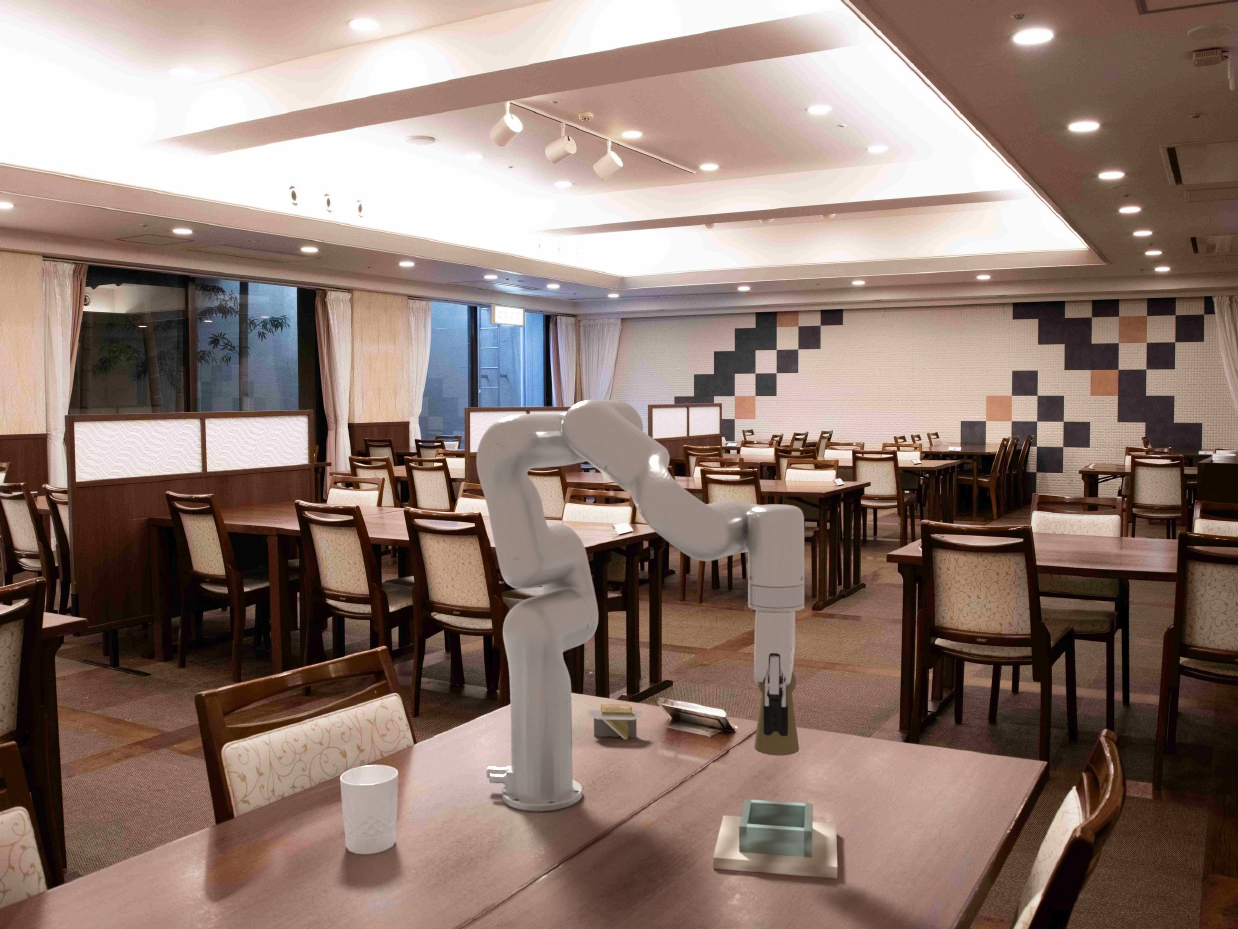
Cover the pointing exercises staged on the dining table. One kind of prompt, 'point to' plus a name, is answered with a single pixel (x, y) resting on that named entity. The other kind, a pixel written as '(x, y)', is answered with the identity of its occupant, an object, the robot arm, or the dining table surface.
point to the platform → (615, 721)
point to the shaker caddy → (777, 841)
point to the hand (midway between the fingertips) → (776, 728)
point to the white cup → (369, 808)
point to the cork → (775, 741)
